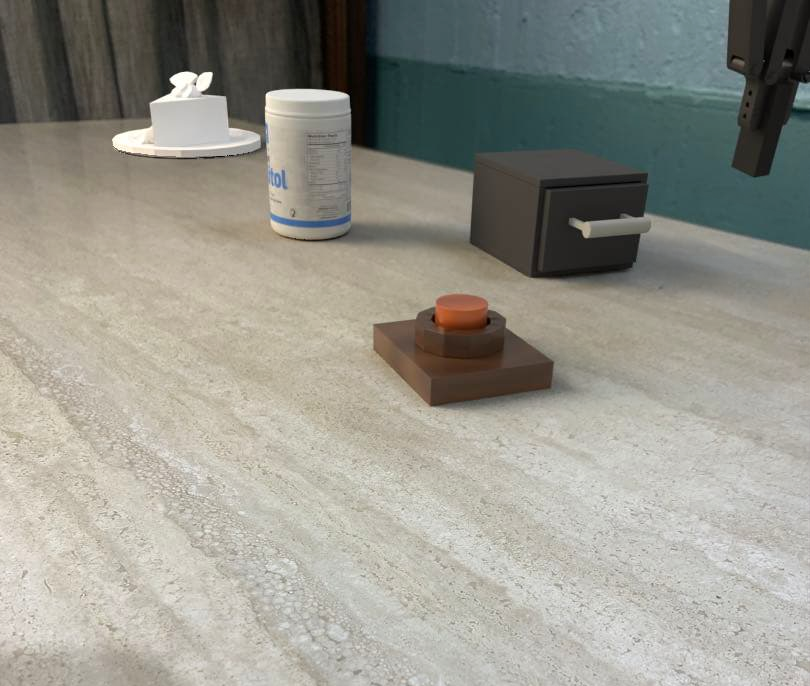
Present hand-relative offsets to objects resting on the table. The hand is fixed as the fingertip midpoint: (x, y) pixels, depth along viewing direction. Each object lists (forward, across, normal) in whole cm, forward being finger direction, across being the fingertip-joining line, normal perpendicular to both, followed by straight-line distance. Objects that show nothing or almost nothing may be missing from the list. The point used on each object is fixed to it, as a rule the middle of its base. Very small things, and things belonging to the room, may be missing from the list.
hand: (750, 170), depth 68 cm
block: (+12, -25, 0) cm, 28 cm away
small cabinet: (+17, -1, +26) cm, 31 cm away
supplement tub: (+18, -23, +44) cm, 53 cm away
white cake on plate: (+26, -26, +105) cm, 111 cm away
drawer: (+16, -1, +22) cm, 27 cm away
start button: (+8, -25, 0) cm, 26 cm away
